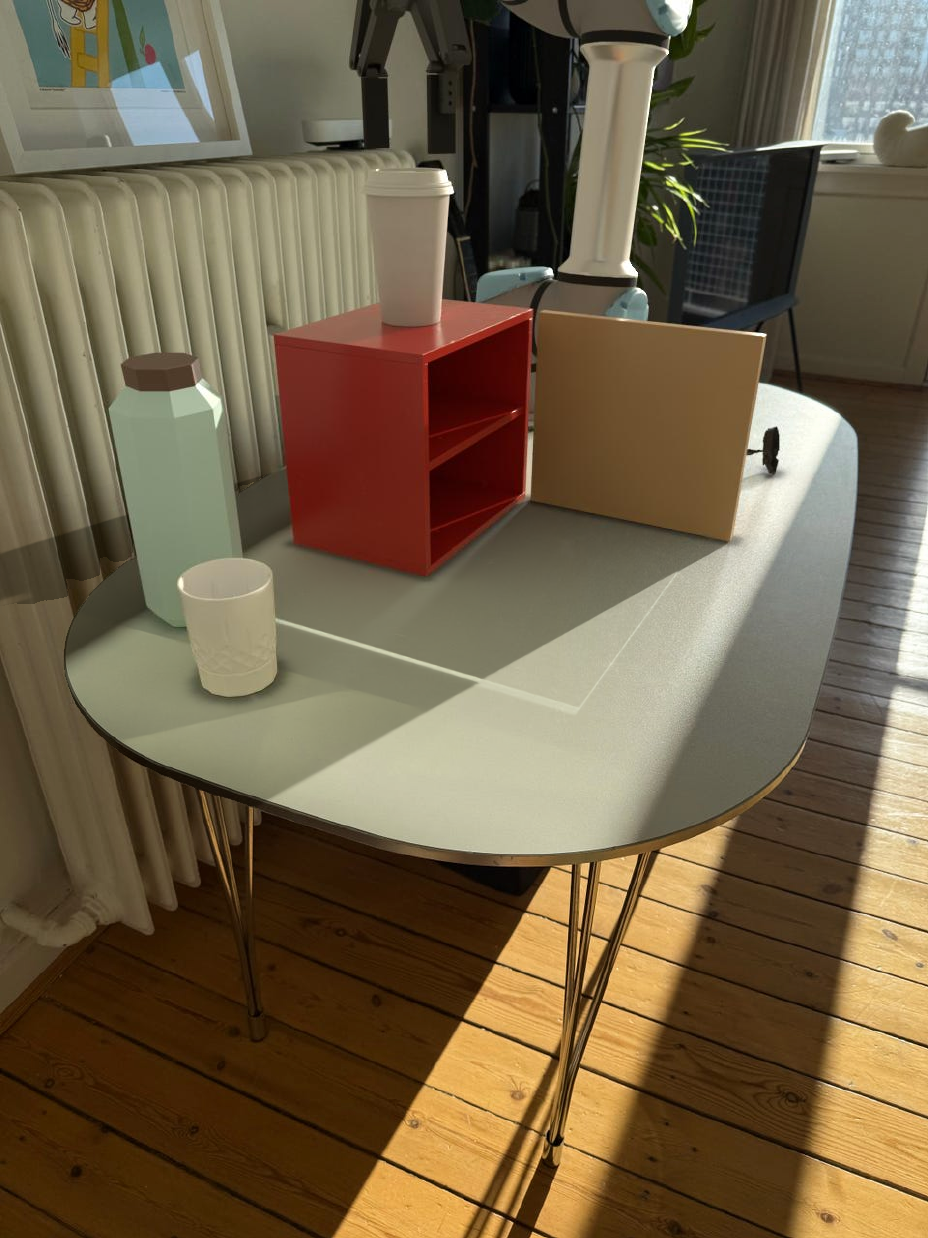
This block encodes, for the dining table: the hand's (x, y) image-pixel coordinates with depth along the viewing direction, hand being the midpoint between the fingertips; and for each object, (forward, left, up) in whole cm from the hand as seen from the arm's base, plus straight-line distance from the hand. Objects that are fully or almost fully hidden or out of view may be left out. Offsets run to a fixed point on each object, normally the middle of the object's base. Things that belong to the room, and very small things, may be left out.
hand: (407, 151), depth 92 cm
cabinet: (0, 0, -41) cm, 41 cm away
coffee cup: (0, 0, -17) cm, 17 cm away
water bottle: (+30, -8, -41) cm, 51 cm away
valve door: (-16, +23, -41) cm, 49 cm away
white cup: (+38, +4, -41) cm, 56 cm away
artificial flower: (-36, +25, -41) cm, 60 cm away
